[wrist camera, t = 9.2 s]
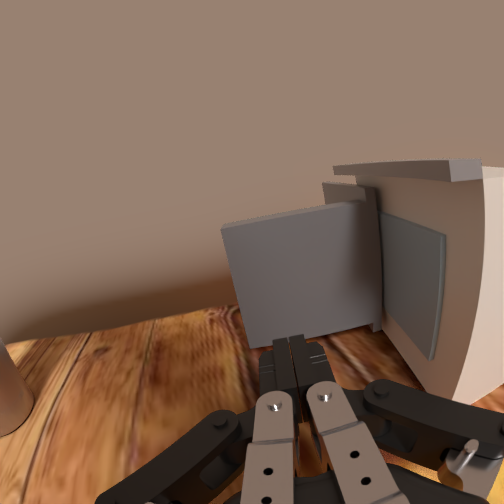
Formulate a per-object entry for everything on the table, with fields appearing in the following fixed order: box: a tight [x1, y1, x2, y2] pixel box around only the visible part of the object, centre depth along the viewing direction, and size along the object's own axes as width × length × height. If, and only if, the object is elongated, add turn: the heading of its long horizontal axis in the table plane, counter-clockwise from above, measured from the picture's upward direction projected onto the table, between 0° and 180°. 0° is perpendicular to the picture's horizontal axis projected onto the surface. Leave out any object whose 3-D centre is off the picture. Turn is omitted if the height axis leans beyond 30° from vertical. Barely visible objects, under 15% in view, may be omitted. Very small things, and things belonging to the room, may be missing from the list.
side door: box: [221, 182, 382, 349], centre depth 26 cm, size 11×13×12 cm
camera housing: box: [333, 158, 504, 405], centre depth 18 cm, size 10×18×15 cm, turn 0°
